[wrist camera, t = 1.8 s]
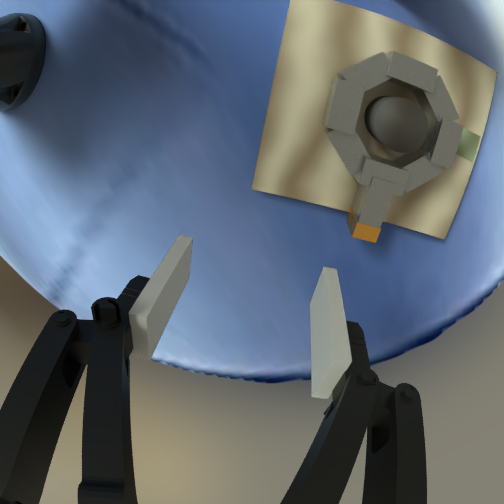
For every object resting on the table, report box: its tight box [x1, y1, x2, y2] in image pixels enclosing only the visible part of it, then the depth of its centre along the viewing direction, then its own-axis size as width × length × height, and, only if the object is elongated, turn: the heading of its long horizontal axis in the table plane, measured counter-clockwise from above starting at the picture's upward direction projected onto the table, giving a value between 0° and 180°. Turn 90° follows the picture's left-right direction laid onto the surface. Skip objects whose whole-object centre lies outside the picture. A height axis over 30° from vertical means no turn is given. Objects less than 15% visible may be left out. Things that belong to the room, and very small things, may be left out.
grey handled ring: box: [322, 51, 464, 243], centre depth 27 cm, size 18×13×4 cm
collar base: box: [252, 0, 497, 240], centre depth 26 cm, size 24×22×6 cm
